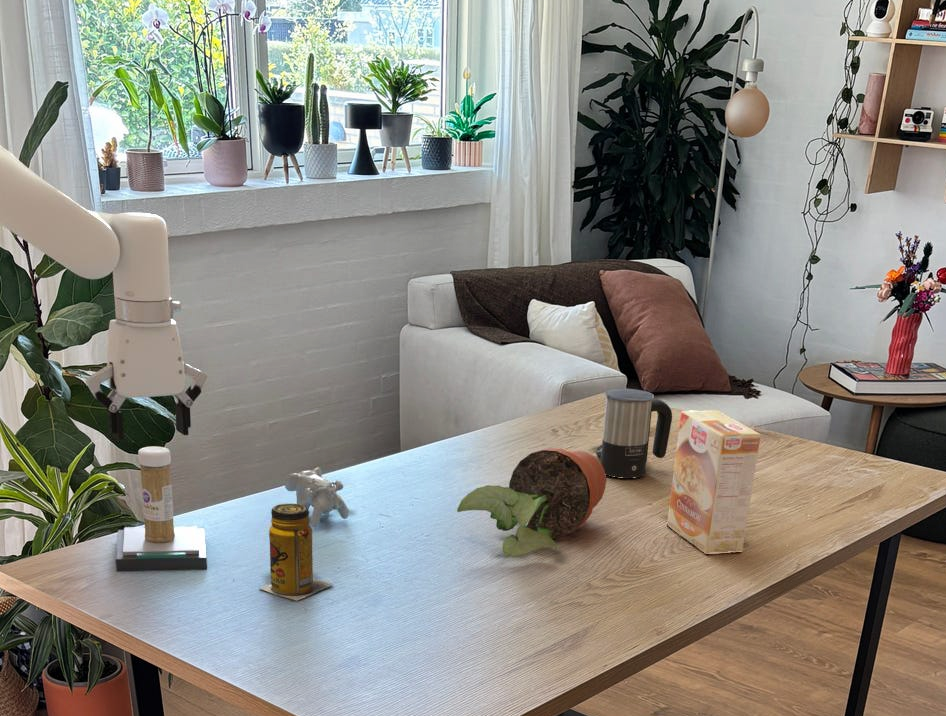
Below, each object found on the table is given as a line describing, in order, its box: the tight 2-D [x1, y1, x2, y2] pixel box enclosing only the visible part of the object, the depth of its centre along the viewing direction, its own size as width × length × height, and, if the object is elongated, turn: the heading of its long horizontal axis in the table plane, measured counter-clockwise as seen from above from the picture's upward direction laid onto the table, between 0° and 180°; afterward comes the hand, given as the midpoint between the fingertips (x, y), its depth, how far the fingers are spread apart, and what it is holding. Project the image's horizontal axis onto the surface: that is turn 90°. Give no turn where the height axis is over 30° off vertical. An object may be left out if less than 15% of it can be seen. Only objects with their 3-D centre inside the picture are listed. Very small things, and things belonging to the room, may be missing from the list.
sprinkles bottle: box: [137, 446, 175, 543], centre depth 193 cm, size 5×5×14 cm
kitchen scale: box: [115, 525, 208, 572], centre depth 196 cm, size 13×13×2 cm
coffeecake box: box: [666, 409, 762, 553], centre depth 212 cm, size 15×7×20 cm, turn 18°
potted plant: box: [456, 447, 607, 558], centre depth 206 cm, size 16×15×35 cm
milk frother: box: [595, 388, 673, 478], centre depth 248 cm, size 14×16×15 cm
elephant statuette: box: [284, 466, 350, 528], centre depth 213 cm, size 9×12×8 cm
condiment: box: [258, 503, 335, 602], centre depth 185 cm, size 7×8×12 cm
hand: (150, 435), depth 188 cm, fingers open, 9 cm apart
